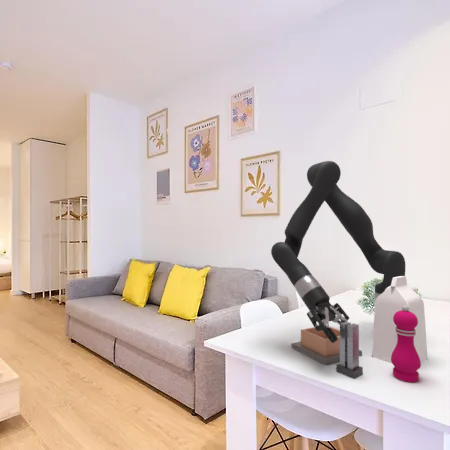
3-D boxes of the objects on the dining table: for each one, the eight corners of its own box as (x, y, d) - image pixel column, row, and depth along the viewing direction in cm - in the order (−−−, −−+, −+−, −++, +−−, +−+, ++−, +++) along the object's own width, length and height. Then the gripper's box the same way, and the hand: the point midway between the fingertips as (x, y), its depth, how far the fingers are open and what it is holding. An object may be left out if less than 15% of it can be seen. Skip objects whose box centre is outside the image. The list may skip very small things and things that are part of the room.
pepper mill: (394, 369, 94) (393, 301, 94) (422, 376, 89) (422, 304, 89) (388, 377, 88) (388, 305, 88) (418, 386, 83) (418, 309, 84)
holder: (325, 340, 118) (325, 322, 118) (362, 355, 104) (361, 335, 104) (291, 347, 110) (291, 328, 110) (326, 365, 96) (325, 343, 96)
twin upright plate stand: (344, 367, 94) (344, 320, 95) (362, 374, 90) (362, 325, 90) (336, 371, 92) (336, 323, 92) (354, 378, 87) (354, 328, 87)
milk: (410, 369, 93) (409, 281, 94) (372, 356, 103) (372, 276, 103) (427, 359, 100) (427, 277, 101) (390, 348, 110) (390, 273, 110)
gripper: (303, 287, 95) (337, 336, 86) (331, 283, 104) (365, 326, 95) (290, 302, 99) (321, 350, 90) (318, 296, 108) (349, 339, 99)
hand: (343, 338), depth 92 cm, fingers open, 8 cm apart
